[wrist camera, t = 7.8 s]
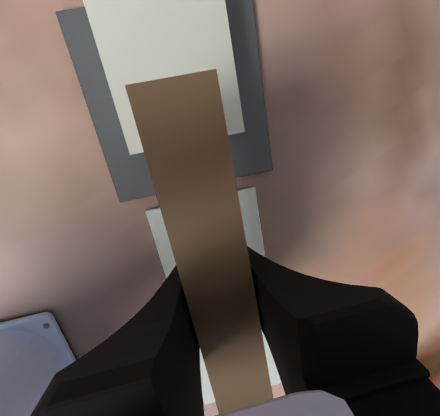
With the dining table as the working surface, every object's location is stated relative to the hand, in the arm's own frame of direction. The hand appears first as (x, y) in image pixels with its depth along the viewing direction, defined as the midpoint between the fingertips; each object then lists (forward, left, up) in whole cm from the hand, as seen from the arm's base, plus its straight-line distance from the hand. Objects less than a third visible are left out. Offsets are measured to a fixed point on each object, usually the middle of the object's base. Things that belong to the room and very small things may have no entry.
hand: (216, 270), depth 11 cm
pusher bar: (0, 0, -2) cm, 2 cm away
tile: (+6, 0, -5) cm, 8 cm away
